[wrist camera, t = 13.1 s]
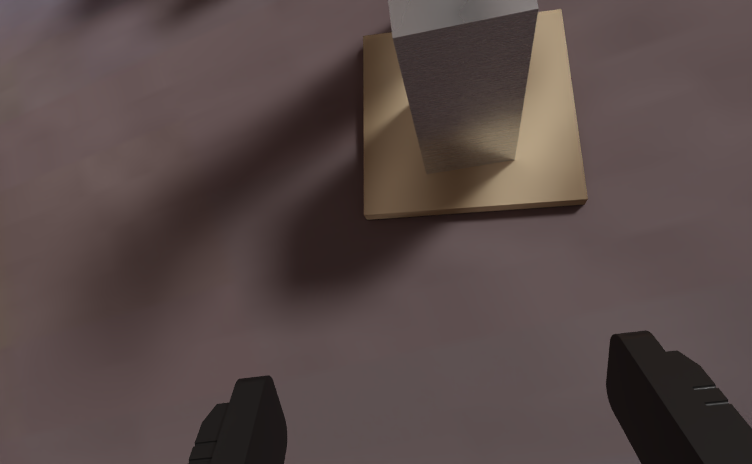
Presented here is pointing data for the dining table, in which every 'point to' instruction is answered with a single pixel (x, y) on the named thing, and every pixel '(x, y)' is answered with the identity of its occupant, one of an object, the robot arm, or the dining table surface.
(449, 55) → the gray rectangular block
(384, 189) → the keeper
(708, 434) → the robot arm
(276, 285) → the dining table surface
